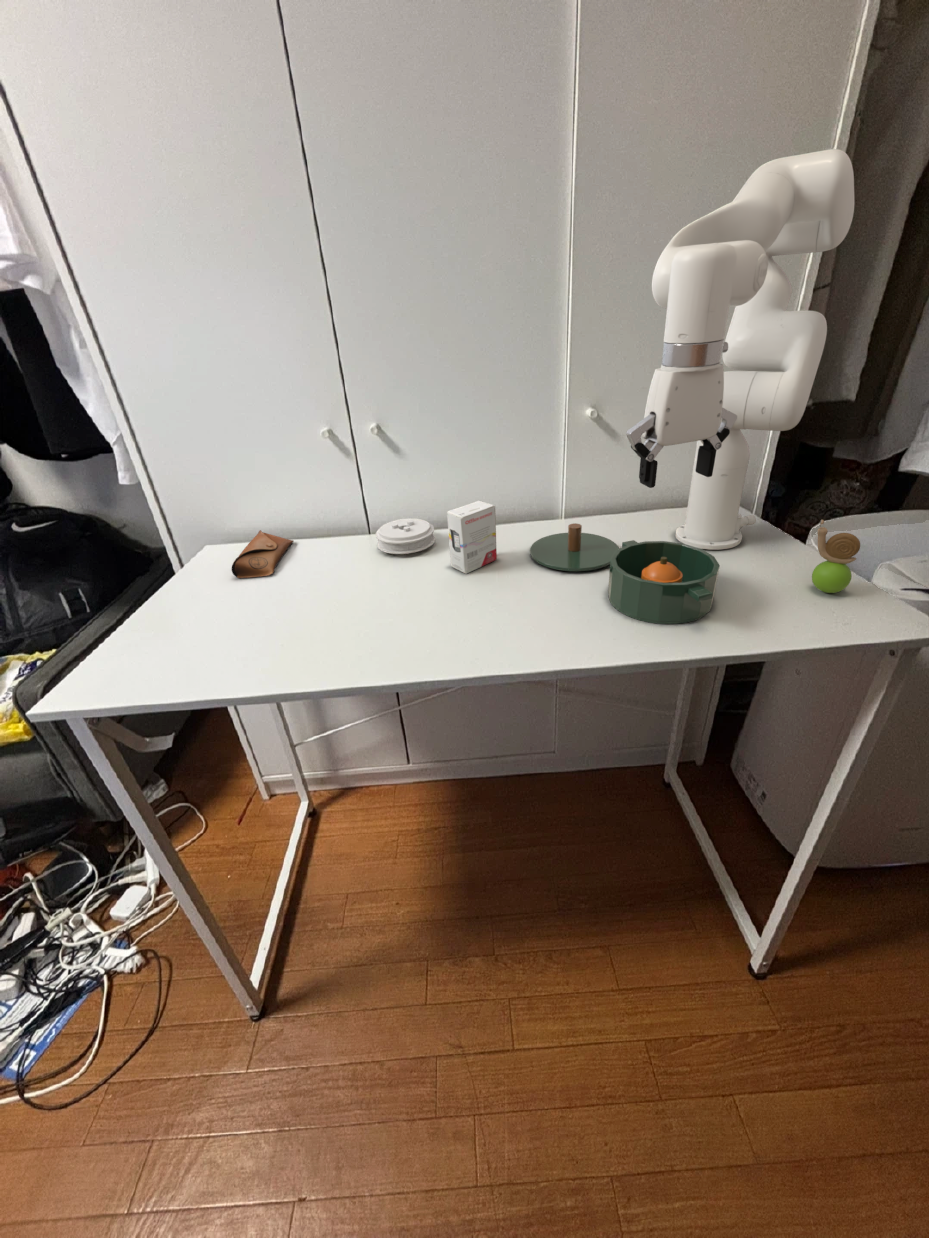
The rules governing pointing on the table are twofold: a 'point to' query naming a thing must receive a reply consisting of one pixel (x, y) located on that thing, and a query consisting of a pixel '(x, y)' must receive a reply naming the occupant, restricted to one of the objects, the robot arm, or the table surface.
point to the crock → (657, 597)
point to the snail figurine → (834, 560)
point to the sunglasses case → (260, 556)
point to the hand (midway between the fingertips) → (675, 479)
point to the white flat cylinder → (405, 536)
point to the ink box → (472, 536)
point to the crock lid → (573, 550)
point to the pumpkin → (662, 572)
